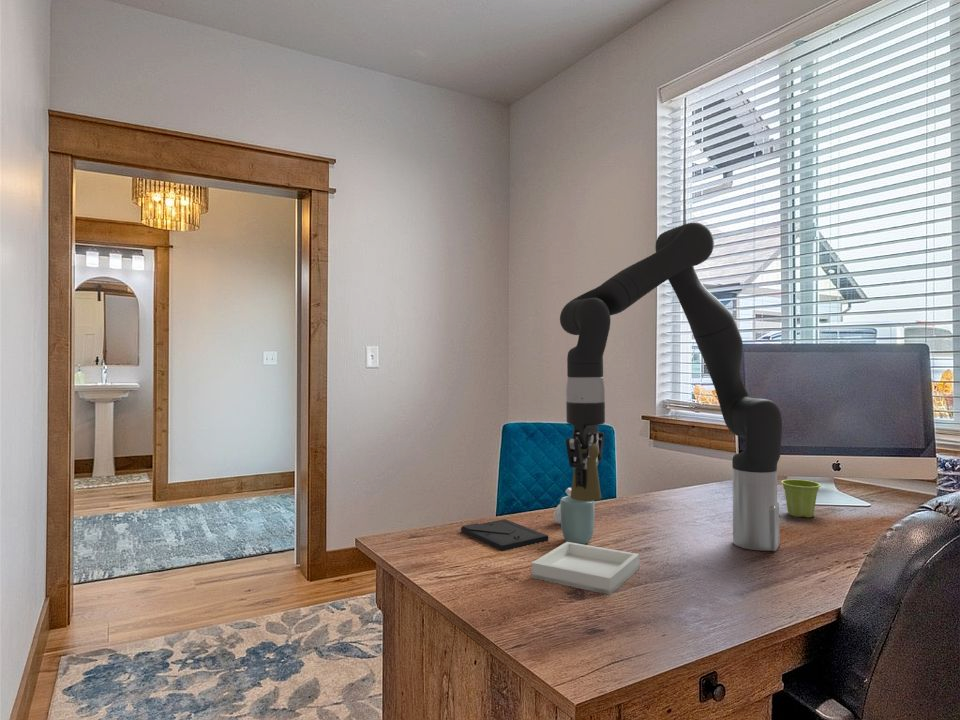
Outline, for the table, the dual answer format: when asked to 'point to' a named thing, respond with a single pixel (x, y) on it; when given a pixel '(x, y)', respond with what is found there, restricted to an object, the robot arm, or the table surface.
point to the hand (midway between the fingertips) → (586, 486)
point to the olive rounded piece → (588, 479)
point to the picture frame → (503, 534)
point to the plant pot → (800, 497)
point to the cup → (577, 520)
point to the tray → (586, 567)
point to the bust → (557, 512)
